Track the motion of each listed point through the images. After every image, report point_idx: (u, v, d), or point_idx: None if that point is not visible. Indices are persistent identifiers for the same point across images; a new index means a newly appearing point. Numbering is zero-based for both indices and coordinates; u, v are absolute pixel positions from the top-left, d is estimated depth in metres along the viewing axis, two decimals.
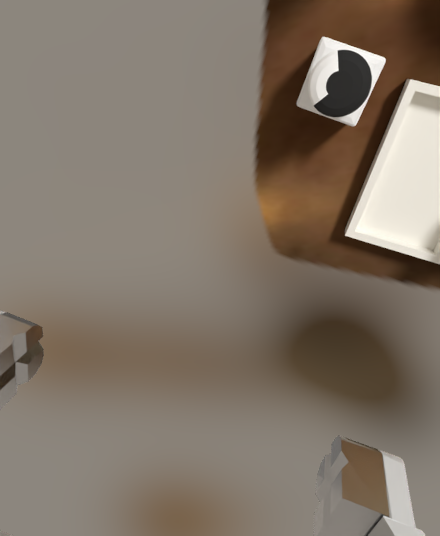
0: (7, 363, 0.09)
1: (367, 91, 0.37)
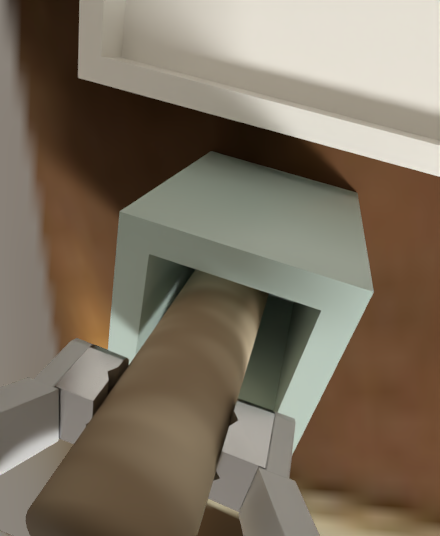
0: None
1: None
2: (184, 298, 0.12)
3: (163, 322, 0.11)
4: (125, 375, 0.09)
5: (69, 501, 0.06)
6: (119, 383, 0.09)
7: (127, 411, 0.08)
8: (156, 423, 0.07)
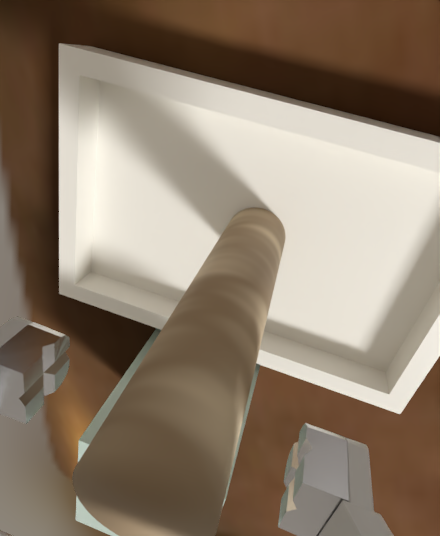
0: (36, 374, 0.09)
1: None
2: (200, 283, 0.12)
3: (182, 305, 0.12)
4: (152, 351, 0.10)
5: (116, 454, 0.07)
6: (147, 358, 0.10)
7: (160, 380, 0.08)
8: (187, 389, 0.08)
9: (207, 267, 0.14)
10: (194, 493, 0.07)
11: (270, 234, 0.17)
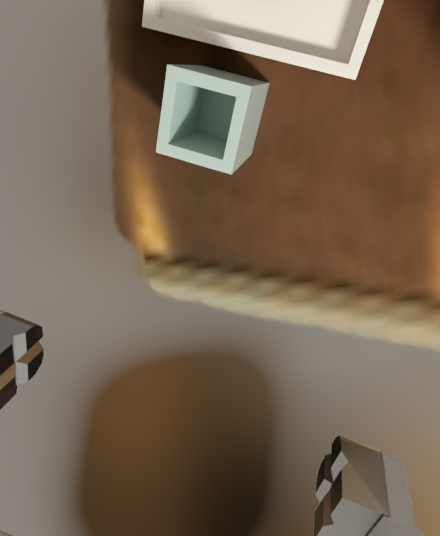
0: (7, 363, 0.09)
1: None
2: None
3: None
4: None
5: None
6: None
7: None
8: None
9: None
10: None
11: None
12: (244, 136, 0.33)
